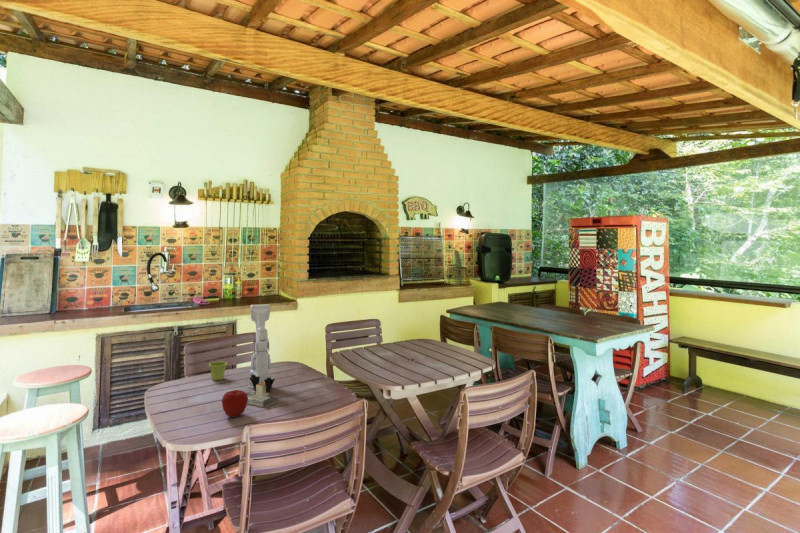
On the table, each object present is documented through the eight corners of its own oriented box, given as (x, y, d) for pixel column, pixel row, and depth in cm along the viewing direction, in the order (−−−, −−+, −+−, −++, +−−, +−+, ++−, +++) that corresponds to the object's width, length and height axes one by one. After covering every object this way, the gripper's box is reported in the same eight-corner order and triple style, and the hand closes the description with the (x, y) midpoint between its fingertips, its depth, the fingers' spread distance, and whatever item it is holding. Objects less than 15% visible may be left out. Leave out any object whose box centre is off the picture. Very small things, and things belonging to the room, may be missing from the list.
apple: (239, 422, 178) (238, 395, 178) (216, 419, 180) (216, 393, 179) (252, 412, 189) (252, 386, 188) (230, 410, 191) (230, 385, 190)
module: (256, 396, 209) (256, 384, 209) (262, 393, 213) (262, 381, 213) (262, 397, 207) (262, 385, 207) (268, 394, 211) (268, 382, 211)
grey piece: (239, 402, 200) (239, 396, 200) (251, 397, 208) (251, 391, 207) (264, 407, 194) (264, 401, 194) (275, 402, 202) (275, 395, 201)
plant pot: (215, 376, 241) (214, 361, 241) (230, 376, 240) (230, 361, 239) (205, 381, 232) (205, 365, 231) (221, 382, 230) (221, 366, 230)
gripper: (245, 364, 209) (245, 391, 209) (268, 368, 203) (268, 395, 203) (255, 361, 215) (255, 387, 216) (277, 364, 209) (277, 391, 210)
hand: (262, 391), depth 210 cm, fingers open, 7 cm apart
